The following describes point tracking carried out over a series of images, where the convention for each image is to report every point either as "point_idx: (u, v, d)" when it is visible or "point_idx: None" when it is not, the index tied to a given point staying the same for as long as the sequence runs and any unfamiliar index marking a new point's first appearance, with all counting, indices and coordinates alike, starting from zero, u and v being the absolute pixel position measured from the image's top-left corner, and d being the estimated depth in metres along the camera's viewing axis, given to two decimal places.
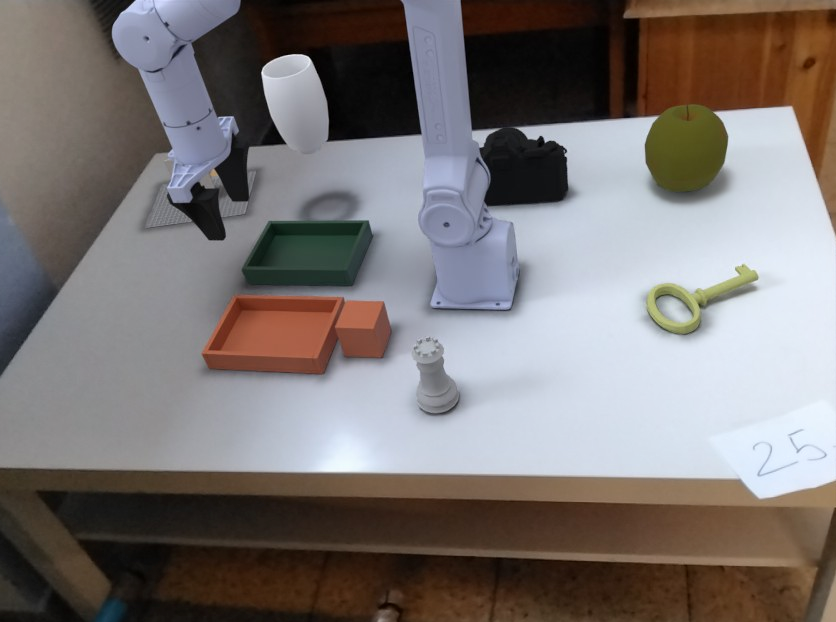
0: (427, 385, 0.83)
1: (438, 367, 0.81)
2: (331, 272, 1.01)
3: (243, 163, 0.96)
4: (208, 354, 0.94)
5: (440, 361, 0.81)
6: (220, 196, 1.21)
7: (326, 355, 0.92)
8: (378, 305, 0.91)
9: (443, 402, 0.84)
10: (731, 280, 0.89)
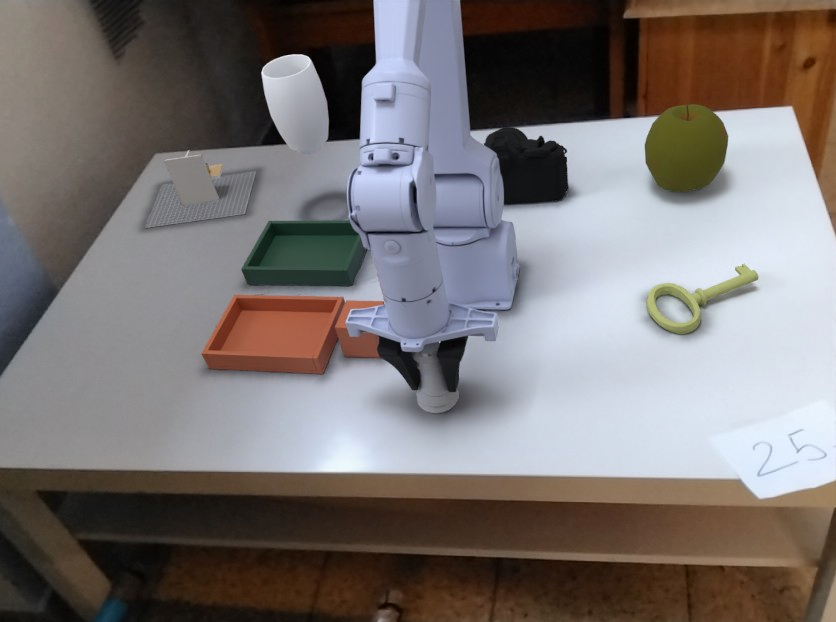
0: (428, 385, 0.83)
1: (438, 368, 0.81)
2: (331, 272, 1.01)
3: None
4: (208, 354, 0.94)
5: None
6: (220, 196, 1.21)
7: (326, 355, 0.92)
8: (378, 305, 0.91)
9: (444, 402, 0.84)
10: (731, 280, 0.89)
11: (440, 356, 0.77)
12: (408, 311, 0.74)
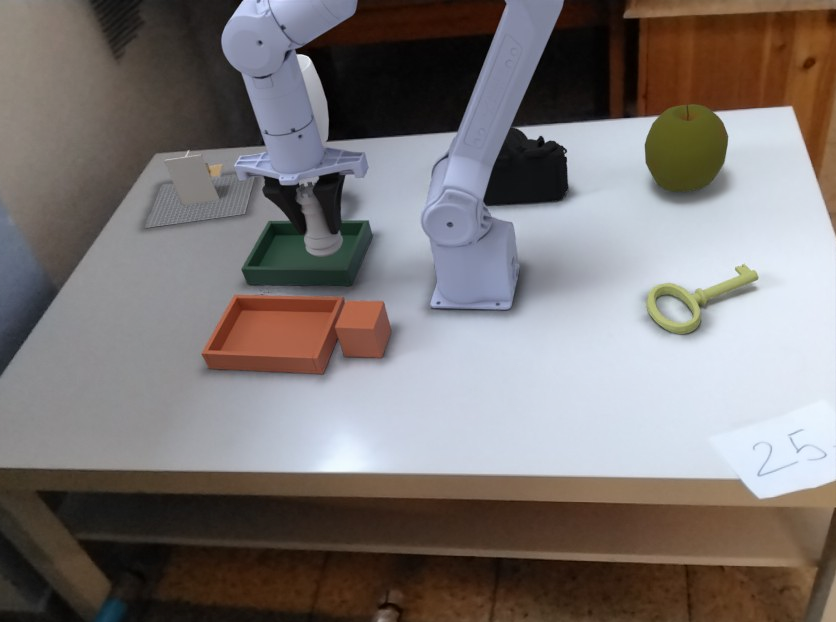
0: (311, 228, 0.93)
1: (319, 210, 0.91)
2: (331, 272, 1.01)
3: None
4: (208, 354, 0.94)
5: None
6: (220, 196, 1.21)
7: (326, 355, 0.92)
8: (378, 305, 0.91)
9: (327, 244, 0.94)
10: (731, 280, 0.89)
11: (315, 191, 0.87)
12: (282, 145, 0.84)
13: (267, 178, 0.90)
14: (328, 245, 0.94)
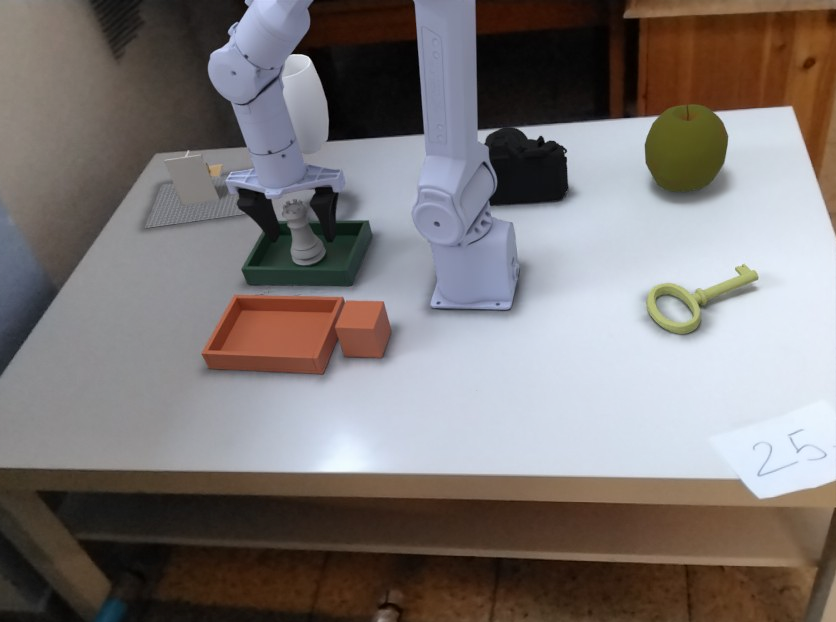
0: (297, 241, 1.03)
1: (303, 224, 1.02)
2: (331, 272, 1.01)
3: None
4: (208, 354, 0.94)
5: (305, 220, 1.02)
6: (220, 196, 1.21)
7: (326, 355, 0.92)
8: (378, 305, 0.91)
9: (310, 255, 1.04)
10: (731, 280, 0.89)
11: (312, 204, 0.97)
12: (267, 163, 0.94)
13: (241, 192, 1.00)
14: (312, 256, 1.04)
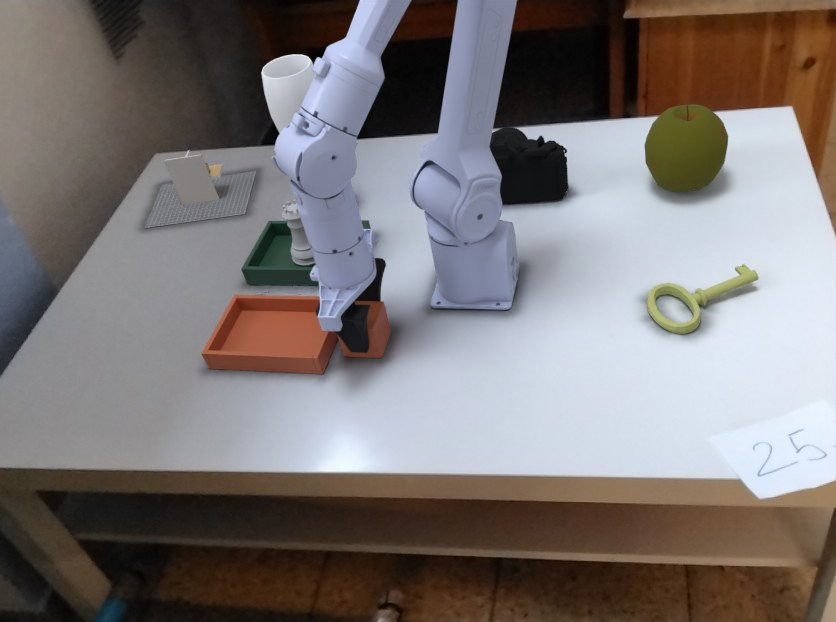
0: (297, 241, 1.03)
1: None
2: None
3: (379, 285, 0.91)
4: (208, 354, 0.94)
5: None
6: (220, 196, 1.21)
7: (326, 355, 0.92)
8: (378, 305, 0.91)
9: (310, 255, 1.04)
10: (731, 280, 0.89)
11: None
12: None
13: None
14: (312, 256, 1.04)
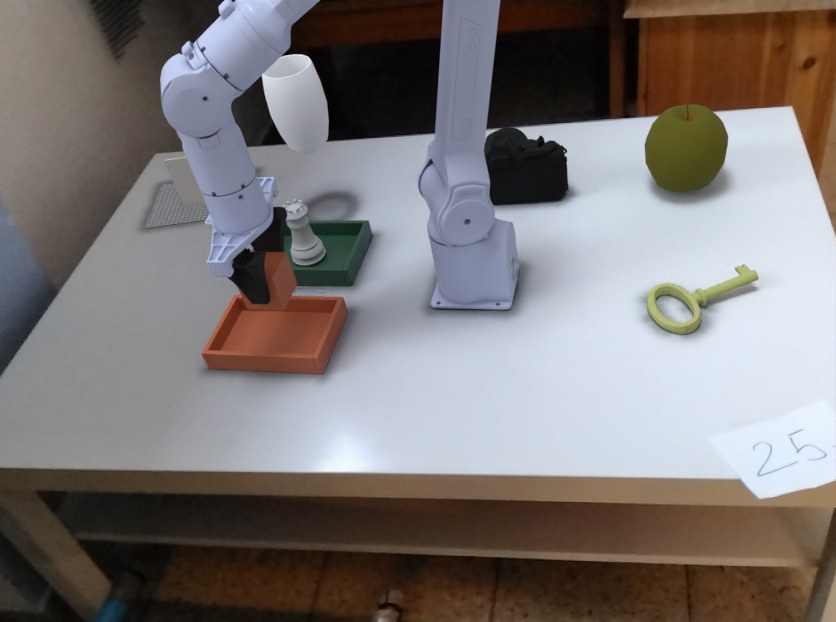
0: (297, 241, 1.03)
1: (303, 224, 1.02)
2: (331, 272, 1.01)
3: (280, 235, 0.88)
4: (208, 354, 0.94)
5: (305, 220, 1.02)
6: None
7: (326, 355, 0.92)
8: (280, 256, 0.89)
9: (310, 255, 1.04)
10: (731, 280, 0.89)
11: None
12: None
13: None
14: (312, 256, 1.04)
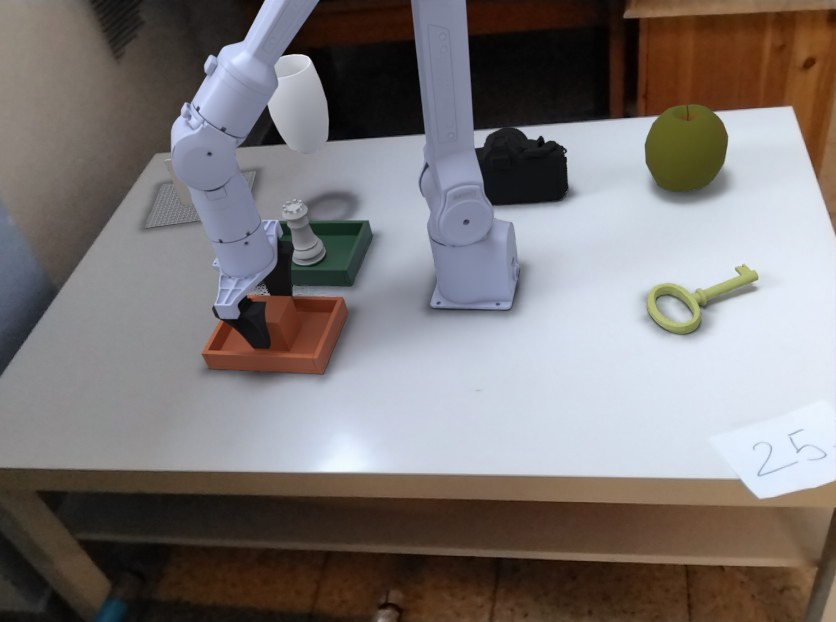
0: (297, 241, 1.03)
1: (303, 224, 1.02)
2: (331, 272, 1.01)
3: (288, 267, 0.93)
4: (208, 354, 0.94)
5: (305, 220, 1.02)
6: None
7: (326, 355, 0.92)
8: (285, 300, 0.94)
9: (310, 255, 1.04)
10: (731, 280, 0.89)
11: None
12: None
13: None
14: (312, 256, 1.04)
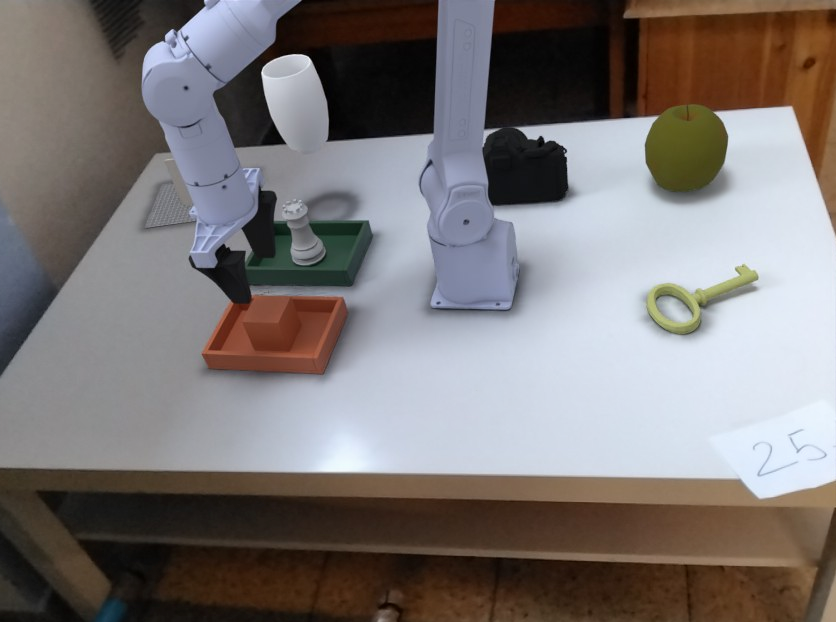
0: (297, 241, 1.03)
1: (303, 224, 1.02)
2: (331, 272, 1.01)
3: (270, 218, 0.89)
4: (208, 354, 0.94)
5: (305, 220, 1.02)
6: None
7: (326, 355, 0.92)
8: (285, 300, 0.94)
9: (310, 255, 1.04)
10: (731, 280, 0.89)
11: None
12: None
13: None
14: (312, 256, 1.04)
